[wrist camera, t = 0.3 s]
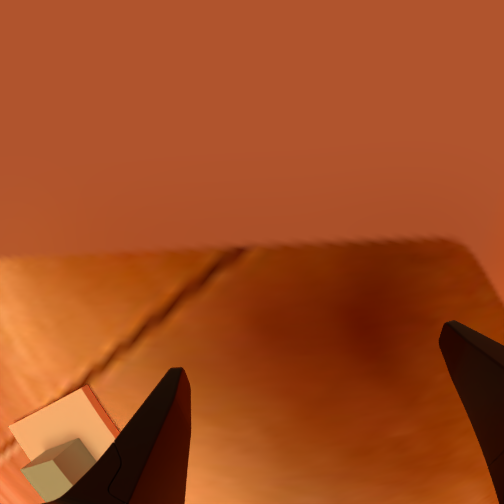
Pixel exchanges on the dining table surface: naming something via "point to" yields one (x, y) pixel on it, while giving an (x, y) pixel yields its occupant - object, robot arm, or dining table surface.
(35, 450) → the base plate
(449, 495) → the dining table surface
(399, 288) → the dining table surface
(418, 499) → the dining table surface
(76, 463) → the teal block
